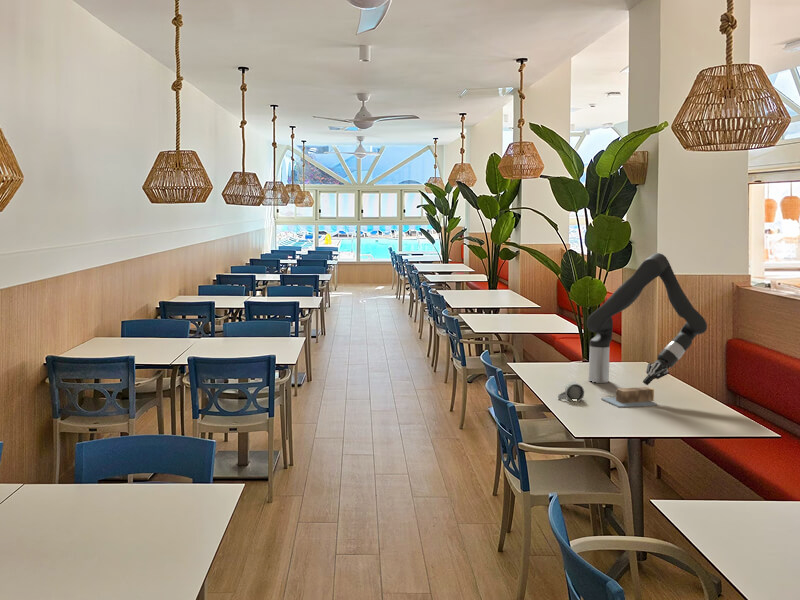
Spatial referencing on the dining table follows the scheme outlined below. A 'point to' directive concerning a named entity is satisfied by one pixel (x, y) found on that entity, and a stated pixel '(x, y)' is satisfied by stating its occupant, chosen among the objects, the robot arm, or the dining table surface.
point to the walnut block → (634, 394)
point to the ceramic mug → (572, 392)
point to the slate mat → (633, 404)
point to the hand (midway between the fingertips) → (645, 383)
